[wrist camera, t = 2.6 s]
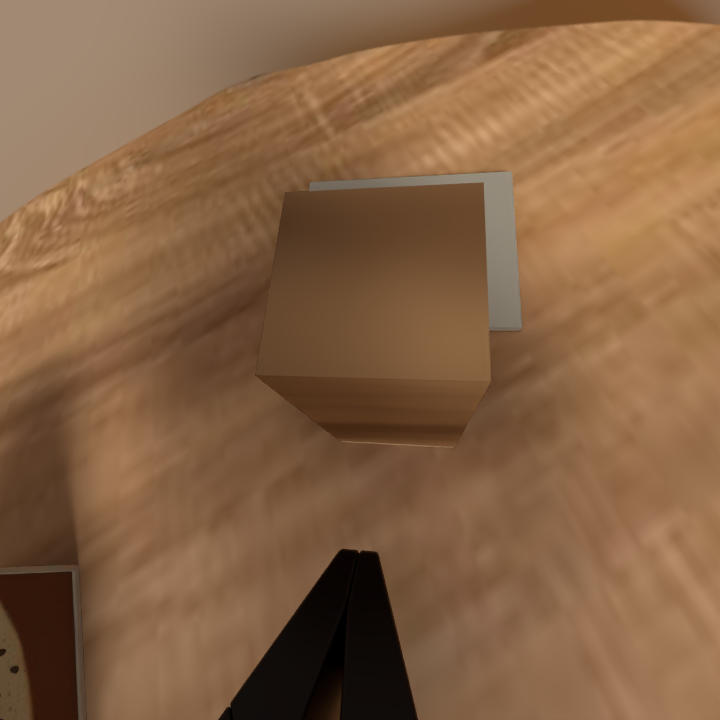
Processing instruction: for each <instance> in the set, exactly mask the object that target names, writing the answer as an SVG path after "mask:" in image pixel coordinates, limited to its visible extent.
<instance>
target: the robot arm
mask: <svg viewBox="0 0 720 720" xmlns="http://www.w3.org/2000/svg"><path fill="white" fill-rule="evenodd" d="M230 705H231V708H230V707H227V708H226V709H225V711H224V712H223V714H222V715H221V716H220V718H219V719H218V720H418V717H417V713H416V708H415V704H414V700H413V696H412V692H411V688H410V683H409V679H408V675H407V671H406V667H405V662H404V658H403V654H402V650H401V646H400V642H399V637H398V633H397V629H396V625H395V621H394V616H393V612H392V608H391V604H390V600H389V596H388V591H387V587H386V583H385V579H384V575H383V570H382V566H381V562H380V558H379V555H378V553H377V552H373V551H361V552H360V553H359V552H358V551H357V550H351V549H341V550H340V551H339V552H338V553H337V554H336V556H335V557H334V559H333V560H332V561H331V563H330V564H329V566H328V567H327V568H326V570H325V571H324V573H323V574H322V575H321V577H320V578H319V580H318V581H317V582H316V584H315V585H314V587H313V588H312V589H311V591H310V592H309V594H308V595H307V596H306V598H305V599H304V601H303V602H302V603H301V605H300V606H299V608H298V609H297V610H296V612H295V613H294V615H293V616H292V617H291V619H290V620H289V622H288V623H287V624H286V626H285V627H284V629H283V630H282V631H281V633H280V634H279V636H278V637H277V638H276V640H275V641H274V643H273V644H272V645H271V647H270V648H269V650H268V651H267V652H266V654H265V655H264V657H263V658H262V659H261V661H260V662H259V664H258V665H257V666H256V668H255V669H254V670H253V672H252V673H251V675H250V676H249V677H248V679H247V680H246V682H245V683H244V684H243V686H242V687H241V689H240V690H239V691H238V693H237V694H236V696H235V697H234V698H233V700H232V701H231V704H230Z"/></svg>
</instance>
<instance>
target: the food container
mask: <svg viewBox="0 0 720 720" xmlns="http://www.w3.org/2000/svg"><path fill="white" fill-rule="evenodd" d="M0 720H87V719H86V699H85V679H84V659H83V639H82V619H81V599H80V579H79V564H78V565H48V566H18V567H0Z"/></svg>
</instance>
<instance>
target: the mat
mask: <svg viewBox="0 0 720 720" xmlns="http://www.w3.org/2000/svg"><path fill="white" fill-rule="evenodd" d="M480 182H484V202H485V229H486V256H487V283H488V309H489V331H520V330H521V329H522V318H521V303H520V288H519V273H518V258H517V243H516V228H515V213H514V198H513V183H512V171H509V172H490V173H472V174H453V175H434V176H415V177H397V178H378V179H359V180H340V181H321V182H310V186H309V191H320V190H340V189H360V188H380V187H400V186H420V185H440V184H460V183H480Z"/></svg>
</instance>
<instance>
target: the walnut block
mask: <svg viewBox="0 0 720 720" xmlns="http://www.w3.org/2000/svg"><path fill="white" fill-rule="evenodd" d="M255 376H257V377H258V378H259V379H261V380H262V381H263V382H264V383H266V384H267V385H268V386H270V387H271V388H272V389H273V390H275V391H276V392H277V393H279V394H280V395H281V396H282V397H284V398H285V399H286V400H288V401H289V402H290V403H291V404H293V405H294V406H295V407H297V408H298V409H299V410H300V411H302V412H303V413H304V414H306V415H307V416H308V417H309V418H311V419H312V420H313V421H315V422H316V423H317V424H318V425H320V426H321V427H322V428H324V429H325V430H326V431H327V432H329V433H330V434H331V435H333V436H334V437H335V438H336V439H338V440H339V441H340V442H351V443H370V444H389V445H408V446H427V447H446V448H455V446H456V444H457V442H458V441H459V439H460V437H461V435H462V433H463V431H464V430H465V428H466V426H467V424H468V422H469V421H470V419H471V417H472V415H473V413H474V412H475V410H476V408H477V406H478V404H479V402H480V401H481V399H482V397H483V395H484V393H485V392H486V390H487V388H488V386H489V384H490V383H491V363H490V336H489V309H488V283H487V256H486V229H485V202H484V182H480V183H460V184H440V185H420V186H400V187H380V188H360V189H340V190H320V191H300V192H285V196H284V202H283V208H282V214H281V220H280V226H279V232H278V238H277V245H276V251H275V257H274V263H273V269H272V275H271V281H270V287H269V293H268V299H267V305H266V311H265V317H264V323H263V329H262V335H261V341H260V347H259V353H258V360H257V366H256V372H255Z"/></svg>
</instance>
